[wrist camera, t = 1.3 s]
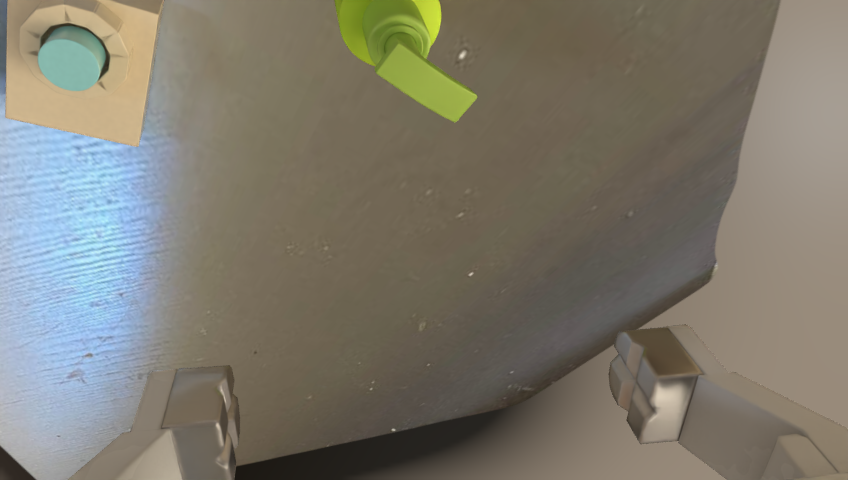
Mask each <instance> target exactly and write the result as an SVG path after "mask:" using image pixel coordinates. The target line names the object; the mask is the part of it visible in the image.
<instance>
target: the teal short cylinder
mask: <svg viewBox="0 0 848 480" xmlns="http://www.w3.org/2000/svg"><path fill="white" fill-rule="evenodd" d="M105 62H106V54H105V50H104V48H103V46H102V44H101V43H100V41H99V40H98V39H97V38H96V37H95V36H94V35H93V34H91V33H90V32H88V31H86V30H84V29H82V28H79V27H74V26H64V27H60V28H57V29H55V30H54V31H52V32H51V33H50V35H49V36H48V37H47V39H46V41H45V42H44V44H43V45H42V47H41V48H40V50H39V53H38V65H39V68H40V70H41V72H42V73H43V75H44V76H45V77H46V78H47V79H48V80H49V81H50V82H51V83H53V84H54V85H56V86H58V87H60V88H62V89H65V90H70V91H82V90H86V89H88V88H90V87H92V86H93V85H94V84H95V83H96V82H97V80H98V79H99V76H100V74H101V72H102V70H103V67H104V65H105Z"/></svg>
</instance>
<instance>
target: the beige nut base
mask: <svg viewBox="0 0 848 480" xmlns="http://www.w3.org/2000/svg"><path fill="white" fill-rule="evenodd" d="M163 5H164V0H7V52H6V110H5V117H6V118H8V119H13V120H17V121H22V122H27V123H31V124H36V125H40V126H45V127H49V128H54V129H58V130H63V131H67V132H72V133H77V134H81V135H86V136H90V137H95V138H99V139H104V140H108V141H113V142H118V143H122V144H127V145H131V146H136V147H138V146H139V143H140V140H141V136H142V133H143V129H144V125H145V118H146V112H147V106H148V100H149V93H150V87H151V81H152V74H153V68H154V62H155V55H156V49H157V43H158V36H159V30H160V24H161V18H162V11H163ZM64 26H74V27H79V28H82V29H84V30H86V31H88V32H90V33H91V34H93V35H94V36H95V37H96V38H97V39H98V40H99V41H100V43H101V44H102V46H103V48H104V50H105V54H106V62H105V65H104V67H103V70H102V72H101V74H100V76H99V79H98V80H97V82H96V83H95V84H94V85H93V86H92V87H90V88H88V89H86V90H82V91H70V90H65V89H62V88H60V87H58V86H56V85H54V84H53V83H51V82H50V81H49V80H48V79H47V78H46V77H45V76H44V75H43V73H42V72H41V70H40V68H39V65H38V53H39V50H40V48H41V47H42V45H43V44H44V42H45V41H46V39H47V37H48V36H49V35H50V33H51V32H52V31H54V30H55V29H57V28H60V27H64Z"/></svg>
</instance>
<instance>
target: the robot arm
mask: <svg viewBox="0 0 848 480" xmlns="http://www.w3.org/2000/svg"><path fill="white" fill-rule="evenodd" d="M614 347H615V348H616V350H617V352H618V353H619V354H618V355H617V356H616V357H615V358H614V359H613V360H612V361H611V363H610V369H609V382H610V389H611V392H612V395H613V397H614V399H615V401H616V402H617V405H619V406H620V407H622V408H623V409H625V410H627V411H628V416H627V422H628V424H629V426H630V427H631V429H632V431H633V433H634V434H635V436H636V438H637V440H638V441H639V443H640V444H648V443H659V442H672V441H679V442H678V443H679V444H680V445H682V446H683V447H684V448H686V449H687V450H688V451H690V452H691V453H692V454H694V455H695V456H696V457H698V458H699V459H700V460H702V461H703V462H704V463H706V464H707V465H709V466H710V467H711V468H712V469H713V470H715V471H716V472H718V473H719V474H720V475H721V476H723V477H724V478H725V479H727V480H848V429H847V428H846V427H844V426H842V425H840V424H838V423H836V422H834V421H832V420H830V419H828V418H826V417H824V416H822V415H820V414H818V413H816V412H814V411H812V410H810V409H808V408H806V407H804V406H802V405H800V404H798V403H796V402H794V401H792V400H790V399H788V398H786V397H784V396H782V395H780V394H778V393H776V392H774V391H772V390H770V389H768V388H766V387H764V386H762V385H760V384H758V383H756V382H754V381H752V380H750V379H748V378H746V377H743V376H742V375H740V374H738V373H736V372H731V373H728V372H727V370H726V369H725V368H724V367H723V365H722V364H721V363H720V362H719V361H718V359H717V358H716V357H715V356H714V355H713V353H712V352H711V351H710V350H709V349H708V347H707V346H706V345H705V344H704V342H703V341H702V340H701V339H700V338H699V337H698V335H697V334H696V333H695V332H694V330H693V329H692V328H691V327H689V326H688V325H686V324H685V325H675V326H666V327H663V328H650V329H640V330H629V331H620V332H619V333H618V335H617V336H616V340H615V344H614ZM233 387H234V377H233V372H232V368H231V367H230V365H228V366H213V367H198V368H182V369H173V370H159V371H152V372H151V373H150V374H149V376H148V377H147V381H146V384H145V387H144V390H143V393H142V396H141V399H140V403H139V406H138V409H137V412H136V415H135V418H134V421H133V424H132V428H131V431H130V432H125V433H122V434H120V435H119V436H118V437H117V438H116V439H115V440H113V441H112V442H111V443H110V444H109V445H108V446H106V447H105V448H104V449H103V450H102V451H101V452H99V453H98V454H97V455H96V456H95V457H94V458H92V459H91V460H90V461H89V462H88V463H87V464H85V465H84V466H83V467H82V468H81V469H80V470H78V471H77V472H76V473H75V474H74V475H73V476H71V477H70V478H69V479H68V480H234V476H235V468H236V459H235V453H234V449H235V448H236V447H237V445H238V444H239V434H240V414H239V405H238V399H237V397H236V396H235V395H234V394H233Z"/></svg>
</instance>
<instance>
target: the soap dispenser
mask: <svg viewBox="0 0 848 480" xmlns="http://www.w3.org/2000/svg"><path fill="white" fill-rule="evenodd" d="M335 6H336V11H337V16H338V21H339V27H340V31H341V35H342V37H343V40H344V42H345V43H346V45H347V47H348V48H349V49H350V51H351V52H352V53H353V54H354V55H355V56H357V57H358V58H359V59H361V60H362V61H364V62H366V63H368V64H370V65H373V66H376V67H375V72H376V74H378V75H379V76H381V77H382V78H384V79H385V80H386V81H388V82H389V83H391V84H392V85H394V86H395V87H397V88H398V89H399V90H401V91H402V92H404V93H405V94H407V95H408V96H410V97H411V98H413V99H414V100H416V101H417V102H419V103H420V104H422V105H424V106H425V107H427V108H429V109H430V110H432V111H434V112H435V113H437V114H439V115H441V116H443V117H445V118H447V119H449V120H451V121H453V122H456V121H457V120H458V119H459V118H460V117H461V116H462V115H463V114H464V112H465V111H466V110H467V109H468V108H469V107H470V106H471V104H472V103H473V102H474V101H475V100H476V99H477V95H476V94H475V93H474V92H473V91H472V90H471V89H470V88H468V87H466V86H465V85H463V84H462V83H460V82H458V81H457V80H455V79H454V78H452V77H451V76H449V75H448V74H446V73H445V72H444V71H442V70H441V69H439V68H438V67H437V66H435V65H434V64H432V63H431V62H430V61H428V60H427V59H426V58H427V56H428V54H429V50H430V47H431V45H432V44H433V42H434V41H435V39H436V37H437V34H438V32H439V28H440V23H441V7H440V3H439V0H335Z"/></svg>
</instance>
